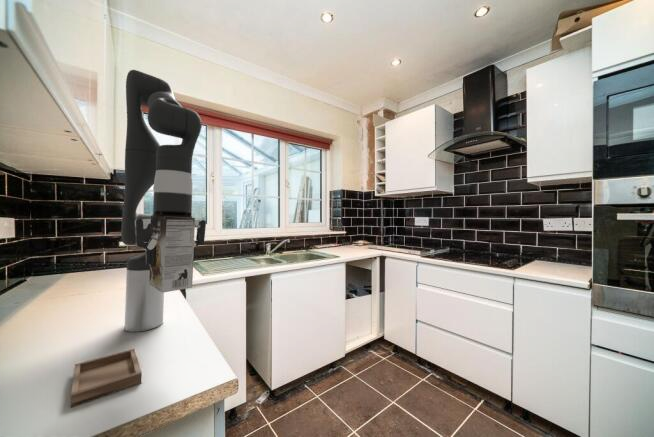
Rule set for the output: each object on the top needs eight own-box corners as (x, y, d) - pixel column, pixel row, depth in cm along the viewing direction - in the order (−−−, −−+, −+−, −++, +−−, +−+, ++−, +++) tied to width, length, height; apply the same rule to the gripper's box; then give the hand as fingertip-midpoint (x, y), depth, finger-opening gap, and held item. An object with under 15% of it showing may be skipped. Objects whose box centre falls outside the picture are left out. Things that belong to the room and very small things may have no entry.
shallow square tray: (74, 374, 51) (75, 364, 51) (134, 357, 57) (134, 348, 57) (70, 407, 42) (71, 395, 42) (141, 383, 48) (141, 372, 48)
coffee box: (147, 285, 57) (150, 215, 57) (178, 280, 62) (180, 216, 62) (160, 293, 51) (163, 215, 52) (193, 287, 56) (195, 216, 56)
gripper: (136, 187, 49) (133, 271, 49) (211, 194, 59) (209, 263, 59) (132, 190, 55) (129, 265, 55) (202, 196, 65) (200, 259, 64)
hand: (171, 264), depth 57 cm, fingers closed on coffee box, 7 cm apart
